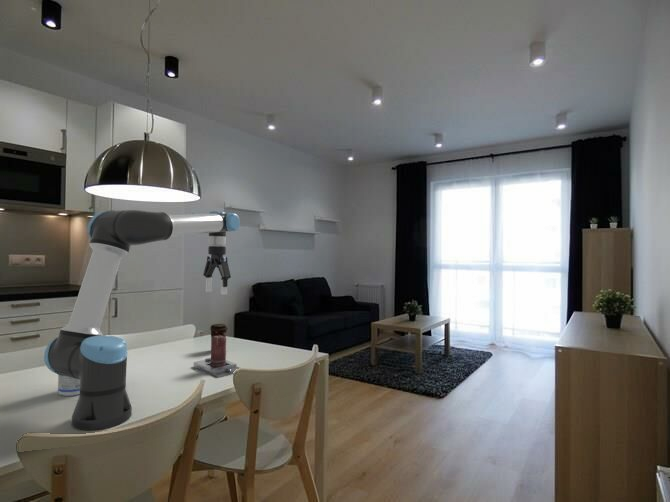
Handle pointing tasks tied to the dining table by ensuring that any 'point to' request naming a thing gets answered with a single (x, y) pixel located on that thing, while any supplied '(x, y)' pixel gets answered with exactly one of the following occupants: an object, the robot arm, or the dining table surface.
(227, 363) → the link plate upper
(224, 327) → the coffee cup
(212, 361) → the can
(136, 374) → the dining table surface
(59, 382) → the supplement tub
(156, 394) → the dining table surface
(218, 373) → the link plate lower
